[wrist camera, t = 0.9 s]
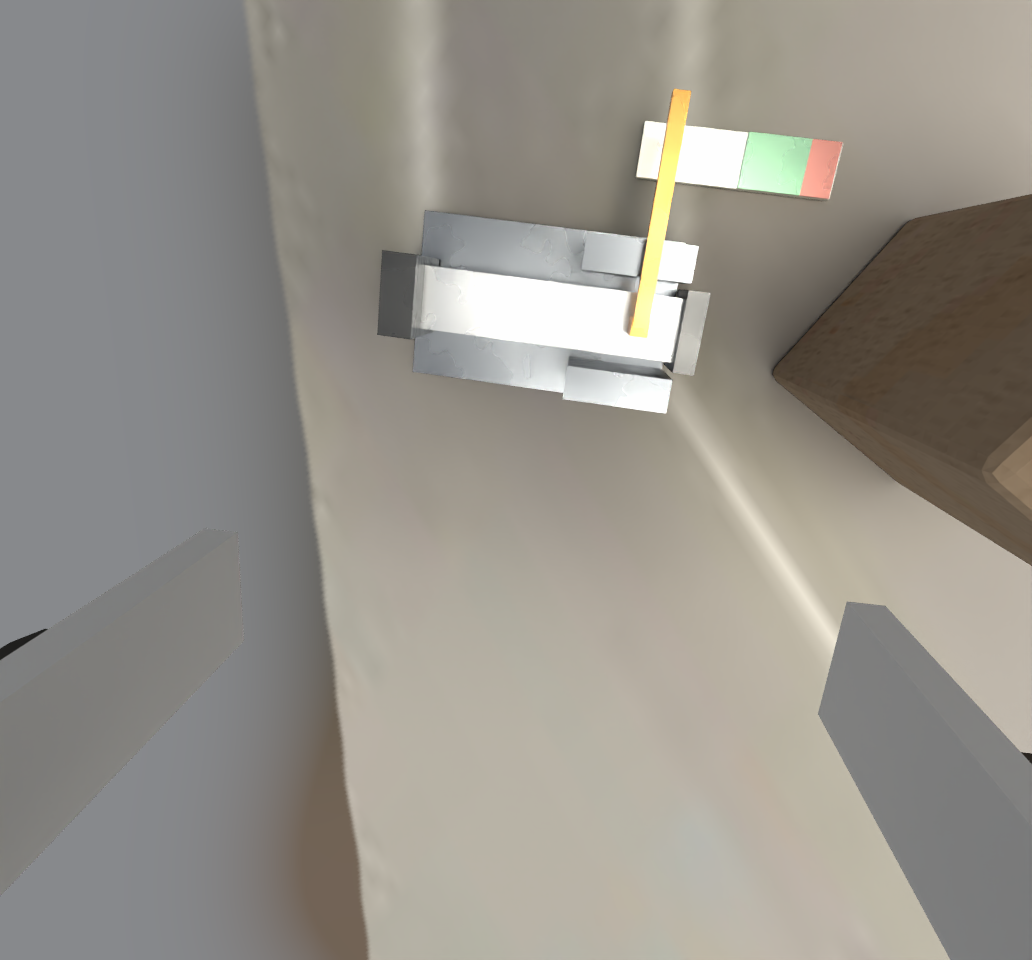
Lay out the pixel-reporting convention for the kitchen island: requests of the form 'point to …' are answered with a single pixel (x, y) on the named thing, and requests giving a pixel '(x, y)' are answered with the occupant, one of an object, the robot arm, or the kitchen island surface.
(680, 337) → the gauge slider with pointer
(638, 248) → the gauge housing
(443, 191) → the kitchen island surface
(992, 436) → the wooden block
